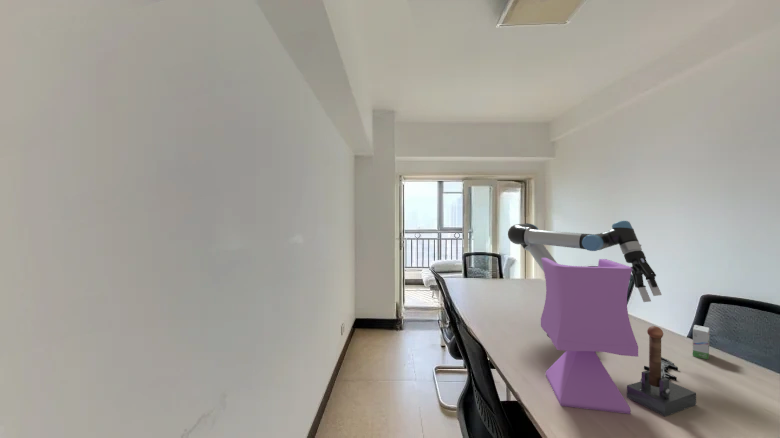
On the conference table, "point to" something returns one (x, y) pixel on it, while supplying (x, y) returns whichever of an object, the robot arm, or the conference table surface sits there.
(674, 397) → the press base
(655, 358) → the lever
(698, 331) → the ink box
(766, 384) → the conference table surface
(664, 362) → the nameplate
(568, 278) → the purple pedestal vase
